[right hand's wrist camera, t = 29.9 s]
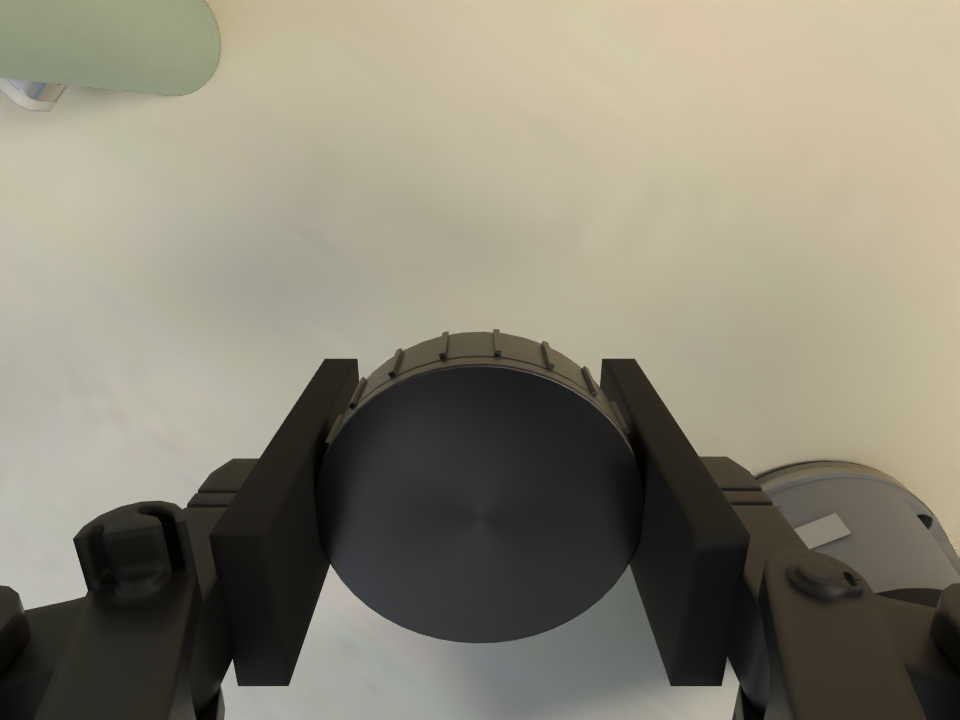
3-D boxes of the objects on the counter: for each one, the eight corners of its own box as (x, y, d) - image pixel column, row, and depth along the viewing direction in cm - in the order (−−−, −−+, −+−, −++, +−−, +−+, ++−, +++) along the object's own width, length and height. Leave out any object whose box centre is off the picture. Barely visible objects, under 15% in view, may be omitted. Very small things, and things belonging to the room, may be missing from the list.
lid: (279, 391, 12) (248, 432, 10) (574, 281, 11) (590, 308, 9) (404, 616, 13) (394, 679, 12) (660, 537, 13) (685, 594, 11)
